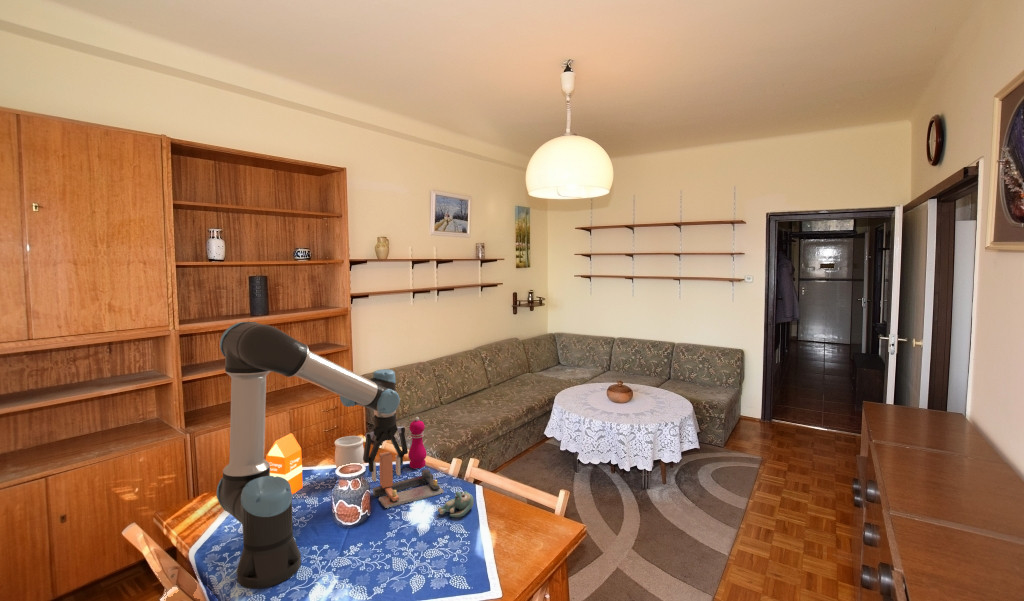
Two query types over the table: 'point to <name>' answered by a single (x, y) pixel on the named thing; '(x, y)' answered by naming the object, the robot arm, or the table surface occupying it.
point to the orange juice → (286, 461)
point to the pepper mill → (417, 445)
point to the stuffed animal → (458, 504)
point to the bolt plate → (410, 495)
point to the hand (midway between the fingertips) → (386, 477)
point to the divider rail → (409, 483)
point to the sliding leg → (387, 475)
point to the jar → (349, 450)
